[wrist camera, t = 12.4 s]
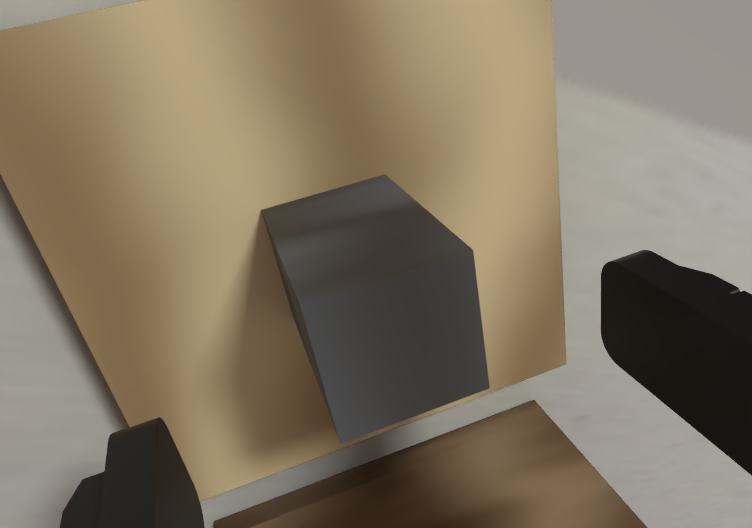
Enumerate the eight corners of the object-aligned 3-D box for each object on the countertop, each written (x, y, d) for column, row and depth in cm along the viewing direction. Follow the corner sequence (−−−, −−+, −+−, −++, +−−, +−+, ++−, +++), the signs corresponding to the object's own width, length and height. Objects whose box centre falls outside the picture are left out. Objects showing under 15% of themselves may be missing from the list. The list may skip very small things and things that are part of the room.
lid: (172, 468, 19) (173, 688, 13) (-37, 38, 13) (-219, 79, 7) (537, 336, 21) (679, 470, 15) (508, -78, 15) (726, -121, 9)
